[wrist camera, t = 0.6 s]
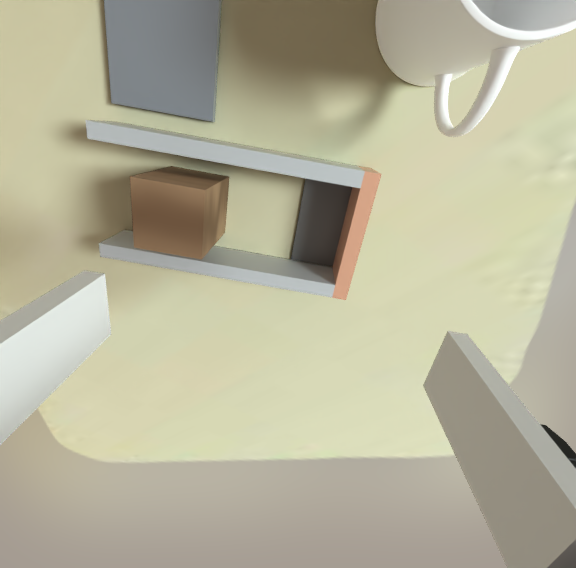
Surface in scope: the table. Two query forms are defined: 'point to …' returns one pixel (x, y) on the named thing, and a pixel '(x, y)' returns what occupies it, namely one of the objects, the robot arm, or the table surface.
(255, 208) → the table surface
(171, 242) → the block
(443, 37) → the mug
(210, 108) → the coaster
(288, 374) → the table surface
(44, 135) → the table surface
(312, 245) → the channel
